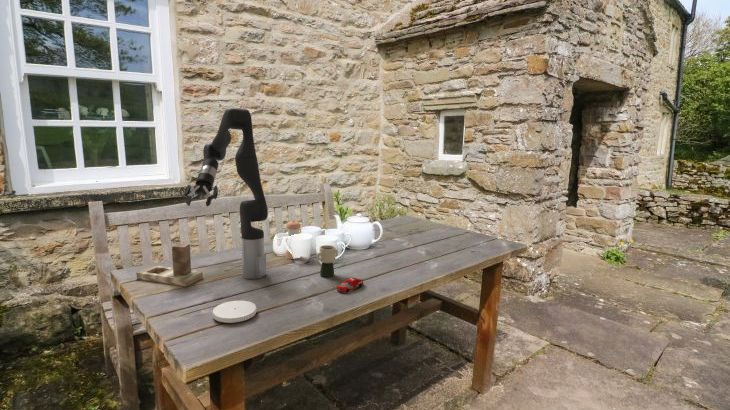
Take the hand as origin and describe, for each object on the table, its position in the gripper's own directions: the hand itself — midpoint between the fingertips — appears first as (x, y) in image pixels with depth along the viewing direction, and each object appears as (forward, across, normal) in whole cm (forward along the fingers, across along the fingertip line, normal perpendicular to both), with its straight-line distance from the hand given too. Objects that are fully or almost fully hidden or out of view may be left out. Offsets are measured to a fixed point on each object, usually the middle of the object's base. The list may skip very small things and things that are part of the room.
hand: (197, 204), depth 177 cm
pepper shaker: (+9, +40, +32) cm, 52 cm away
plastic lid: (+56, +32, -14) cm, 66 cm away
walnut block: (+32, +1, +4) cm, 32 cm away
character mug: (+26, +60, +14) cm, 67 cm away
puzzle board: (+33, -5, +8) cm, 34 cm away
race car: (+37, +70, +5) cm, 79 cm away
